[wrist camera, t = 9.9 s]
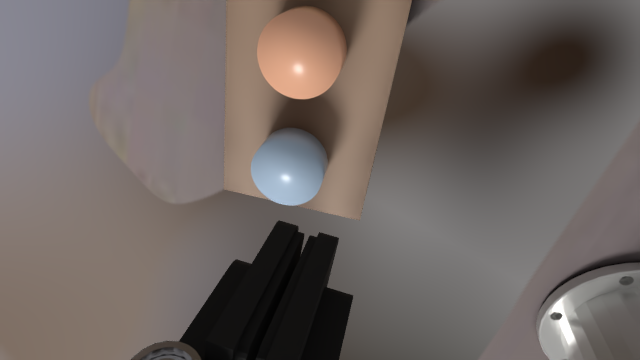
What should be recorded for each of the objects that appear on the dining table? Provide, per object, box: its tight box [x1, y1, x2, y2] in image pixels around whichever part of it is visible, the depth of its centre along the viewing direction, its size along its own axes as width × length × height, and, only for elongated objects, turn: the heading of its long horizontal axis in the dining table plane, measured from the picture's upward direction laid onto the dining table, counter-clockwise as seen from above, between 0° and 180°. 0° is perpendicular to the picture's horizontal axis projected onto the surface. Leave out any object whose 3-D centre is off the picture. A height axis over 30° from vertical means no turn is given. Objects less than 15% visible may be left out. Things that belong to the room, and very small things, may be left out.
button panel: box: [224, 0, 412, 220], centre depth 24 cm, size 10×22×3 cm, turn 172°
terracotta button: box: [257, 6, 347, 99], centre depth 21 cm, size 4×4×2 cm
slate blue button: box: [251, 128, 328, 205], centre depth 25 cm, size 4×4×2 cm
